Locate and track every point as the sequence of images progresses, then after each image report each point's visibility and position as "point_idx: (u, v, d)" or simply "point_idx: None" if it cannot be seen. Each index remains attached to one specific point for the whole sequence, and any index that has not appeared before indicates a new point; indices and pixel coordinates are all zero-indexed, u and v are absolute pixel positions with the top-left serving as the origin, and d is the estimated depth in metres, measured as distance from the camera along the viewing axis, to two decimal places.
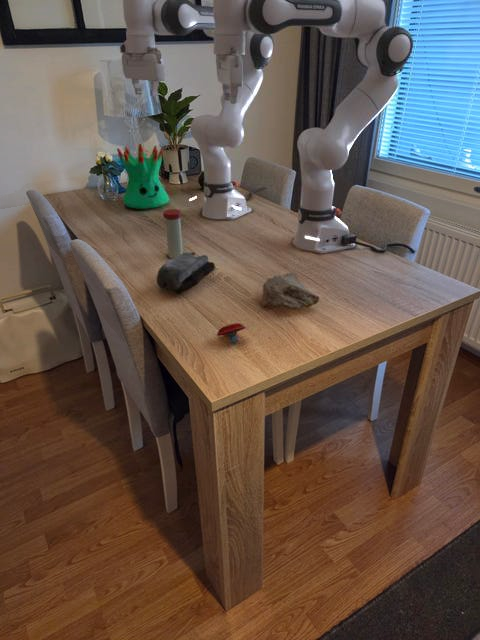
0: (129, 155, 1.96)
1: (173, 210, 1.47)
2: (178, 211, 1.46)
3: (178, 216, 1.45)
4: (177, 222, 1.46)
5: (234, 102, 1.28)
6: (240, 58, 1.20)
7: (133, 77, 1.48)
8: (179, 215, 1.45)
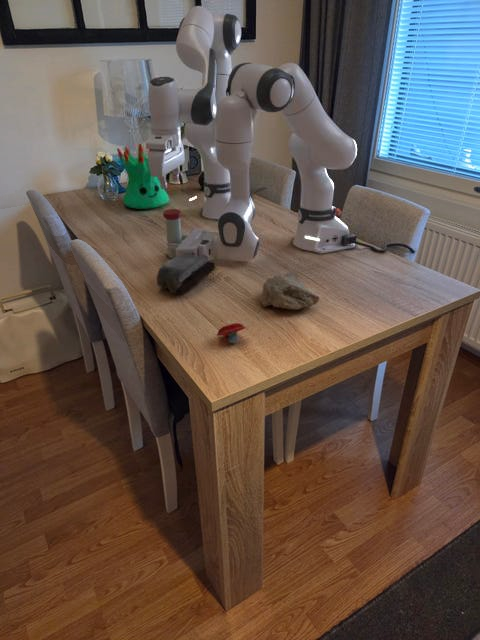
0: (129, 155, 1.96)
1: (173, 210, 1.47)
2: (178, 211, 1.46)
3: (178, 216, 1.45)
4: (177, 222, 1.46)
5: None
6: None
7: (169, 171, 1.35)
8: (179, 215, 1.45)
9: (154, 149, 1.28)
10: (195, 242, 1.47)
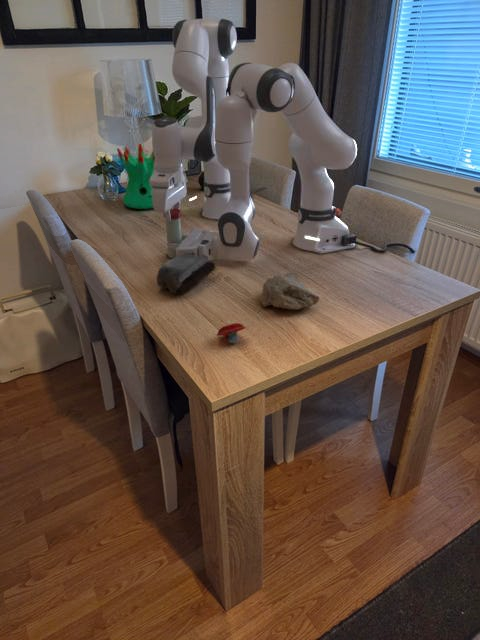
0: (129, 155, 1.96)
1: (173, 210, 1.47)
2: (178, 211, 1.46)
3: (178, 216, 1.45)
4: (177, 222, 1.46)
5: None
6: None
7: (172, 205, 1.41)
8: (179, 215, 1.45)
9: (157, 186, 1.34)
10: (195, 242, 1.47)
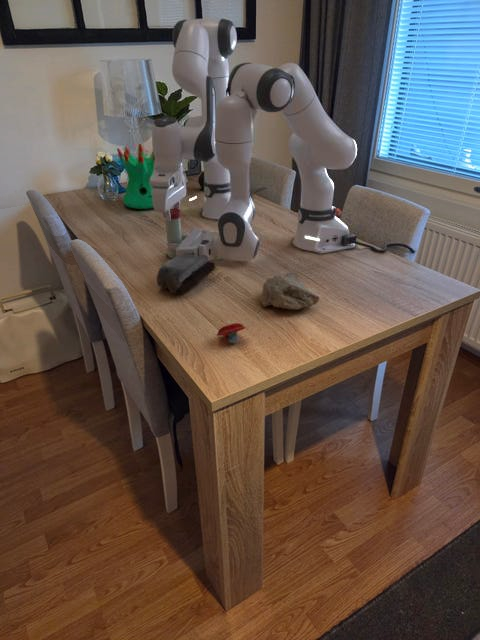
0: (129, 155, 1.96)
1: None
2: (173, 209, 1.48)
3: None
4: (177, 222, 1.46)
5: None
6: None
7: (172, 205, 1.41)
8: None
9: (158, 186, 1.34)
10: (195, 242, 1.47)
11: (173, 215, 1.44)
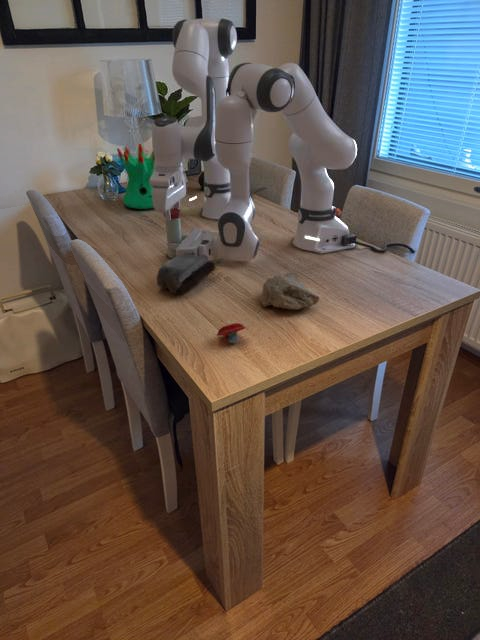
0: (129, 155, 1.96)
1: (170, 212, 1.45)
2: None
3: None
4: (177, 222, 1.46)
5: None
6: None
7: (172, 205, 1.41)
8: None
9: (158, 186, 1.34)
10: (195, 242, 1.47)
11: (180, 212, 1.47)
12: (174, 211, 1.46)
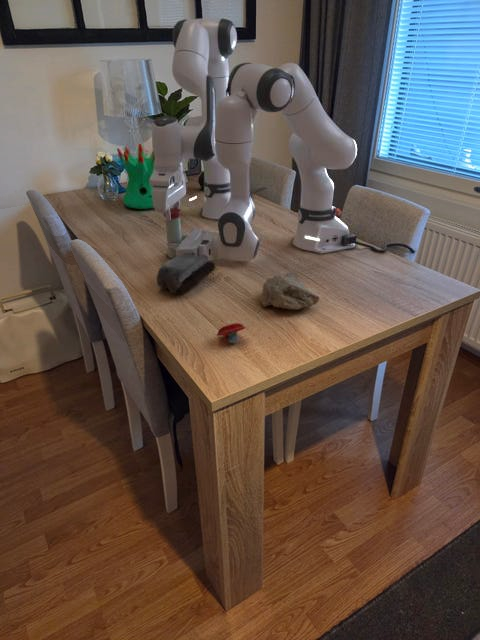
0: (129, 155, 1.96)
1: (174, 211, 1.45)
2: None
3: (164, 215, 1.45)
4: (177, 222, 1.46)
5: None
6: None
7: (172, 205, 1.41)
8: None
9: (158, 185, 1.34)
10: (195, 242, 1.47)
11: None
12: (173, 210, 1.47)
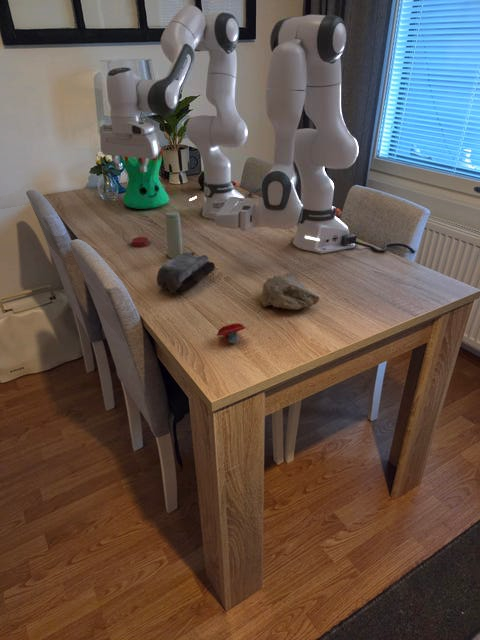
0: None
1: (137, 240, 1.62)
2: (136, 238, 1.64)
3: None
4: (177, 222, 1.46)
5: None
6: None
7: None
8: None
9: (148, 133, 1.40)
10: (235, 209, 1.38)
11: (146, 242, 1.62)
12: (140, 240, 1.62)
